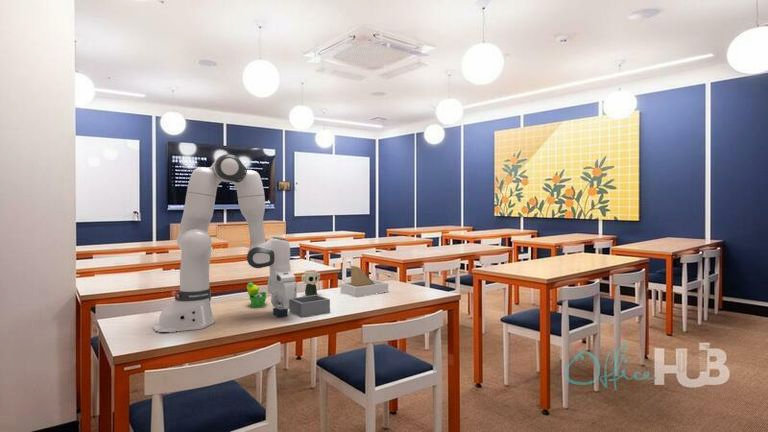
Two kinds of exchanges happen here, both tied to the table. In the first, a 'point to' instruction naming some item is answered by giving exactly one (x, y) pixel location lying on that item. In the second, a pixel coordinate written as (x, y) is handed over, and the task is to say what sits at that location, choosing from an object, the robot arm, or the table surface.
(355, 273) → the sandwich container
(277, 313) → the watch
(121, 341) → the table surface
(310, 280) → the big eyed figurine
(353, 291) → the light grey tray
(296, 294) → the light bulb box
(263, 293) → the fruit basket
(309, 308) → the crate
